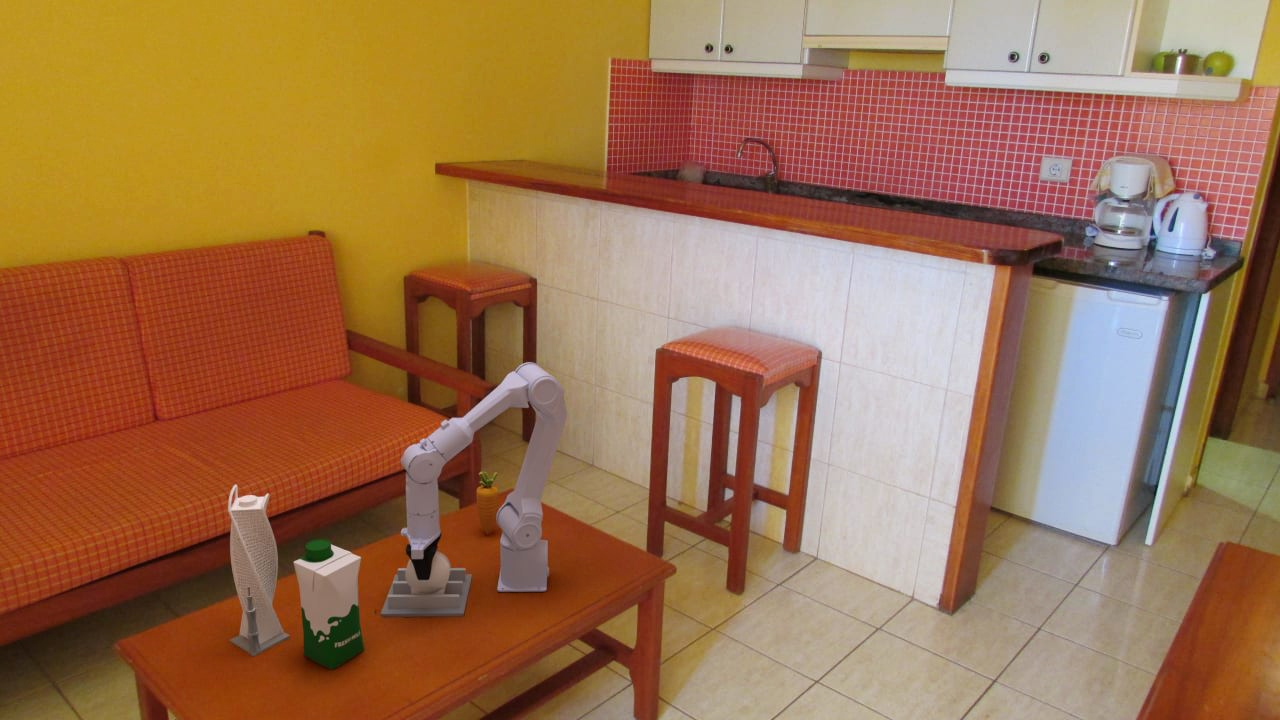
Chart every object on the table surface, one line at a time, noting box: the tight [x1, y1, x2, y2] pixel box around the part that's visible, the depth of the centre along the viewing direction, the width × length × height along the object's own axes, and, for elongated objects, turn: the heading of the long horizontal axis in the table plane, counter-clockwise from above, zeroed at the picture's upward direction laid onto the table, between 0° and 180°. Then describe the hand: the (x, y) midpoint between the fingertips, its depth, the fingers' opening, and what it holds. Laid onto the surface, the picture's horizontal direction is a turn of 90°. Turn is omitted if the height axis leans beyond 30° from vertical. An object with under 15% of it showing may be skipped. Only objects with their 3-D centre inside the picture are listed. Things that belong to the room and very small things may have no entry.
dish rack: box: [380, 567, 473, 618], centre depth 171 cm, size 15×14×3 cm
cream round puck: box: [405, 550, 452, 594], centre depth 167 cm, size 8×2×8 cm, turn 94°
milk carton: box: [293, 538, 365, 671], centre depth 150 cm, size 9×9×20 cm
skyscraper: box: [227, 483, 291, 657], centre depth 153 cm, size 8×8×28 cm
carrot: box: [475, 471, 500, 535], centre depth 194 cm, size 5×5×15 cm
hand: (425, 574), depth 167 cm, fingers closed on cream round puck, 2 cm apart
